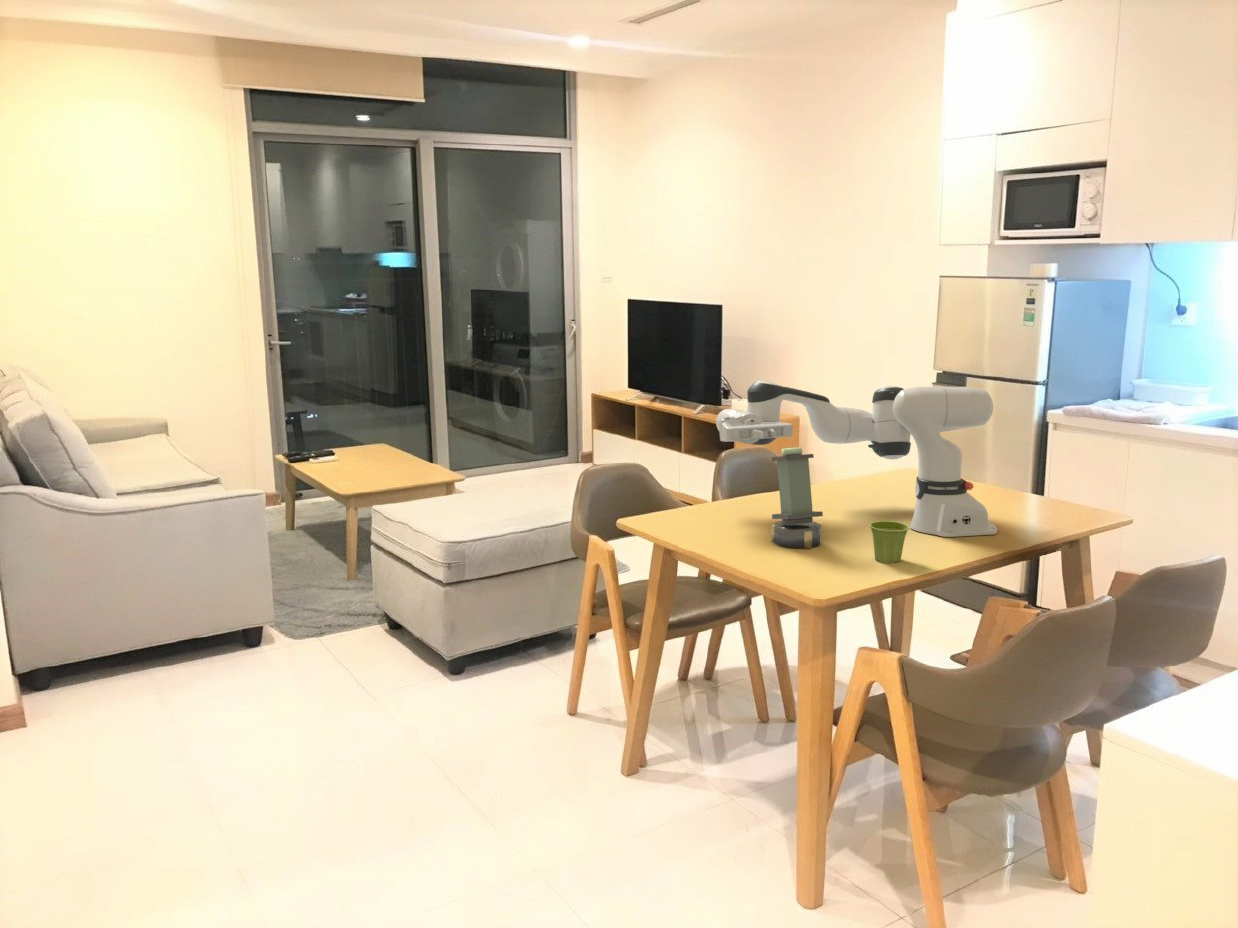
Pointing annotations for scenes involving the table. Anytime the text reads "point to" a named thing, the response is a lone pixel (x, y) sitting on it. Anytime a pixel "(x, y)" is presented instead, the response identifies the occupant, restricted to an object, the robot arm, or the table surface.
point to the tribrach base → (796, 535)
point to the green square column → (794, 487)
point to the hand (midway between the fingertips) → (769, 435)
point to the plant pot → (888, 540)
